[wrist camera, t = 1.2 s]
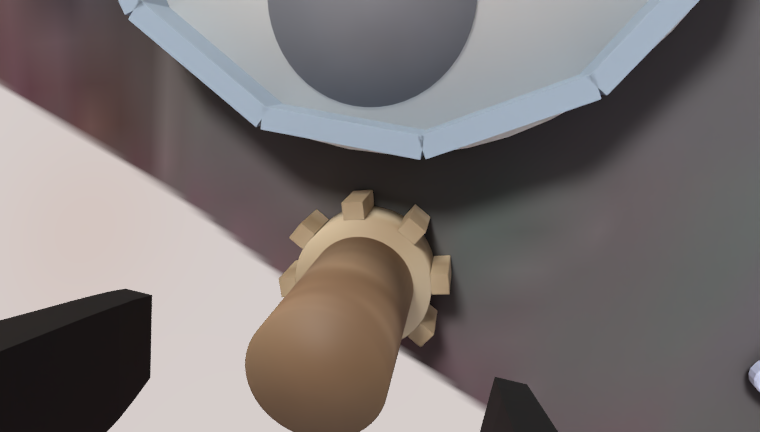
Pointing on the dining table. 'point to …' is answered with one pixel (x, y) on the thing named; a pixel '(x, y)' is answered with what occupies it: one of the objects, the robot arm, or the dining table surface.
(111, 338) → the robot arm
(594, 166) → the dining table surface
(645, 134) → the dining table surface
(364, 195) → the gear
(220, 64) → the carrier plate
